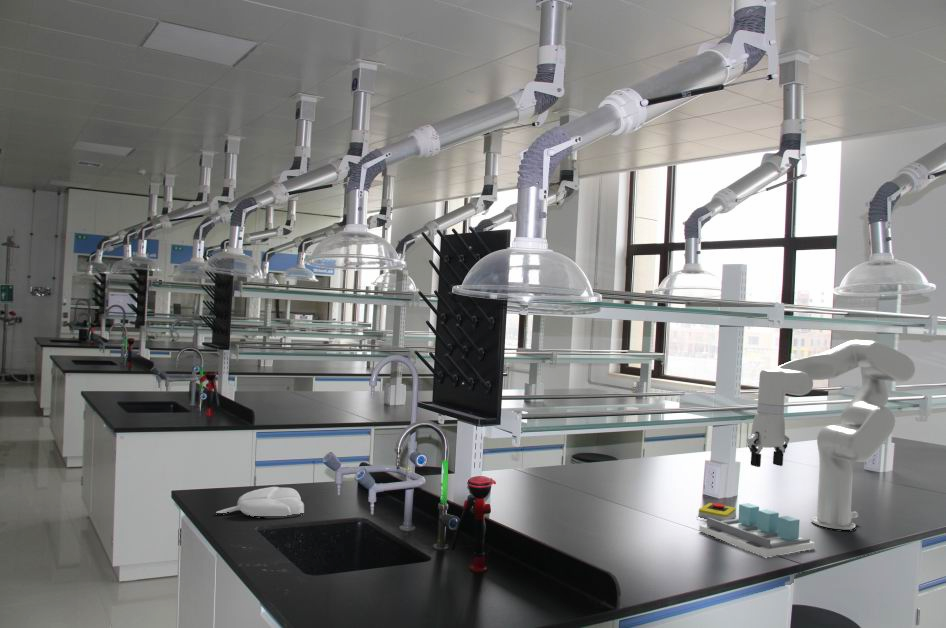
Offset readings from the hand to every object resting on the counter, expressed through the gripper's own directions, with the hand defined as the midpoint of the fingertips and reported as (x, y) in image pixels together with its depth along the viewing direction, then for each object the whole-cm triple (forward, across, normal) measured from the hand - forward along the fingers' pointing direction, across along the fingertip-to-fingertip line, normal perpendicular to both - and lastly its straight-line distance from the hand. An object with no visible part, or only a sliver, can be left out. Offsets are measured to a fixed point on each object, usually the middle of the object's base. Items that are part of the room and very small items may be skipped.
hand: (766, 465), depth 220 cm
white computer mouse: (+24, +138, -65) cm, 155 cm away
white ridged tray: (+20, +11, +7) cm, 24 cm away
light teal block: (+17, +6, +7) cm, 20 cm away
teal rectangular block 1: (+17, +6, 0) cm, 19 cm away
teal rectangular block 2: (+17, +6, +14) cm, 23 cm away
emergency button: (+21, +3, -15) cm, 26 cm away
